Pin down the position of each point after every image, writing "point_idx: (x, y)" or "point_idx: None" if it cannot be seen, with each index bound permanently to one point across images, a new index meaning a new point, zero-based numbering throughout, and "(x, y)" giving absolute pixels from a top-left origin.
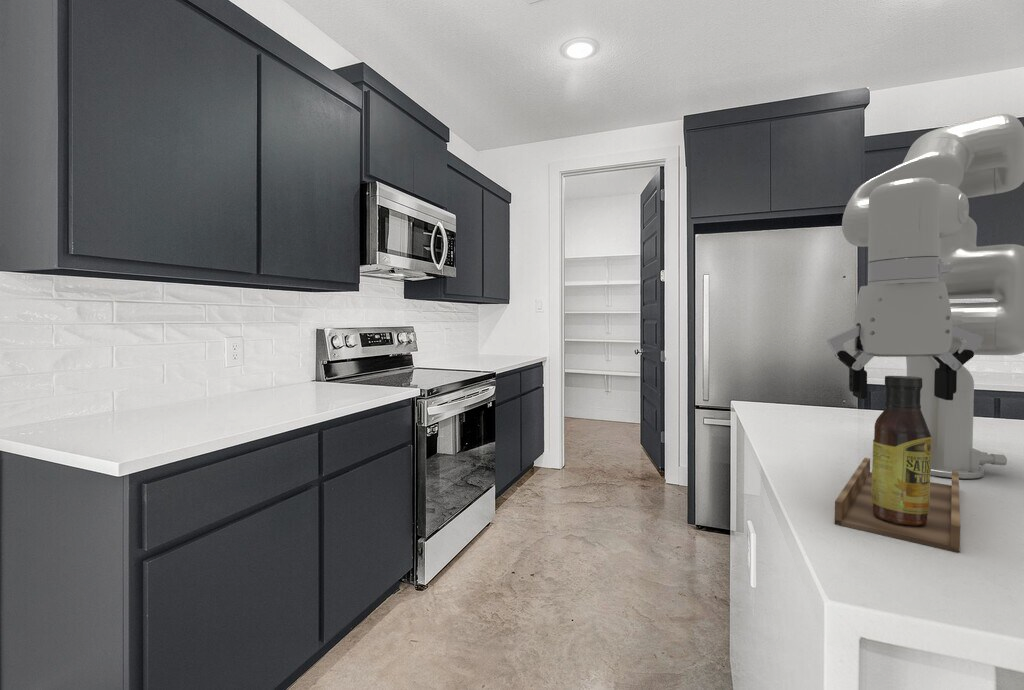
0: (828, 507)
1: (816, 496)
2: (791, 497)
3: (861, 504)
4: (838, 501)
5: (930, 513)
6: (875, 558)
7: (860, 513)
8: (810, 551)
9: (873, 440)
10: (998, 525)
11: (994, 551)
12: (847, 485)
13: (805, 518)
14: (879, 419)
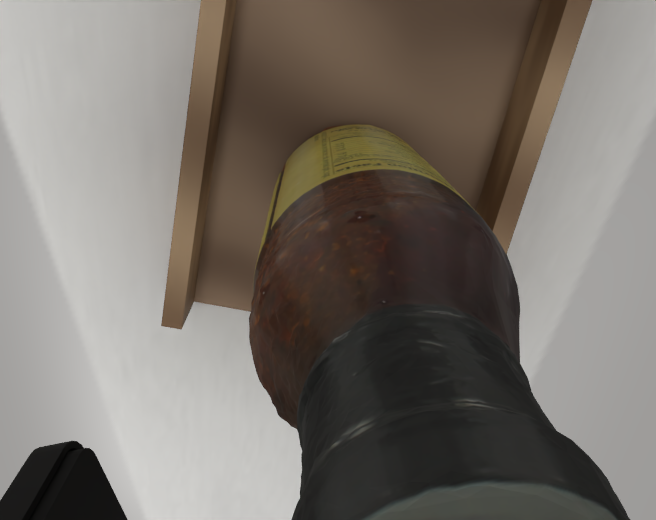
0: (153, 136)
1: (103, 12)
2: (23, 82)
3: (253, 88)
4: (171, 323)
5: (462, 69)
6: (264, 458)
7: (245, 199)
8: (139, 488)
9: (253, 294)
10: (649, 35)
11: (535, 286)
12: (195, 97)
13: (101, 285)
14: (267, 387)
